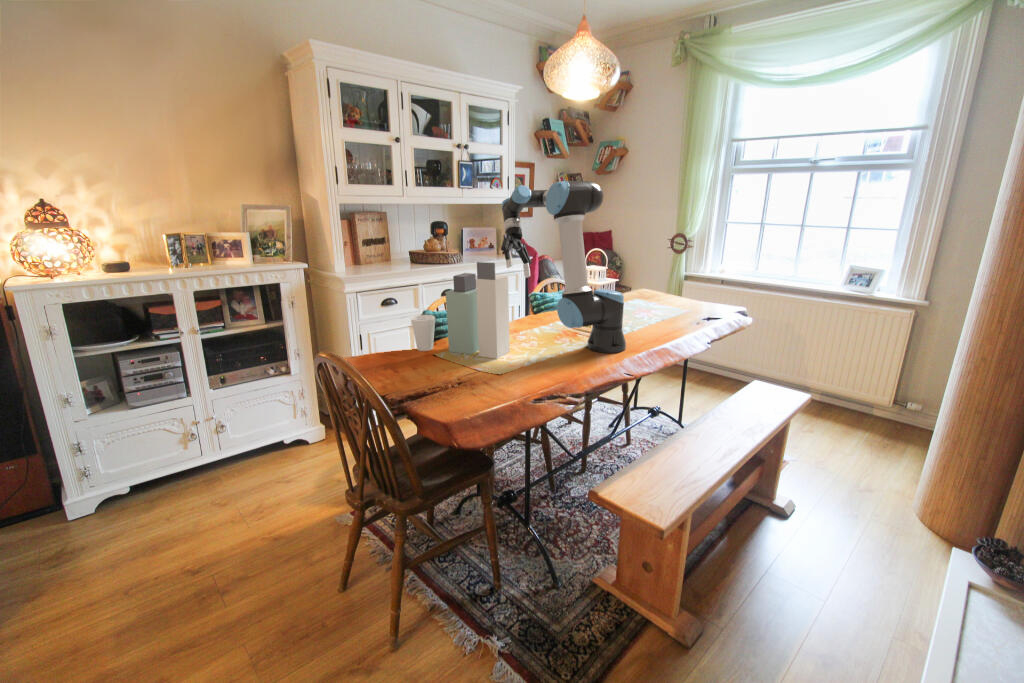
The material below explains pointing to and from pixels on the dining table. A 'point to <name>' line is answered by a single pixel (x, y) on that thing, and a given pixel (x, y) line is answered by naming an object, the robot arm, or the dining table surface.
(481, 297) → the tower
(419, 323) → the foam cup
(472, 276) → the charger
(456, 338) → the sage green pillar
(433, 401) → the dining table surface
